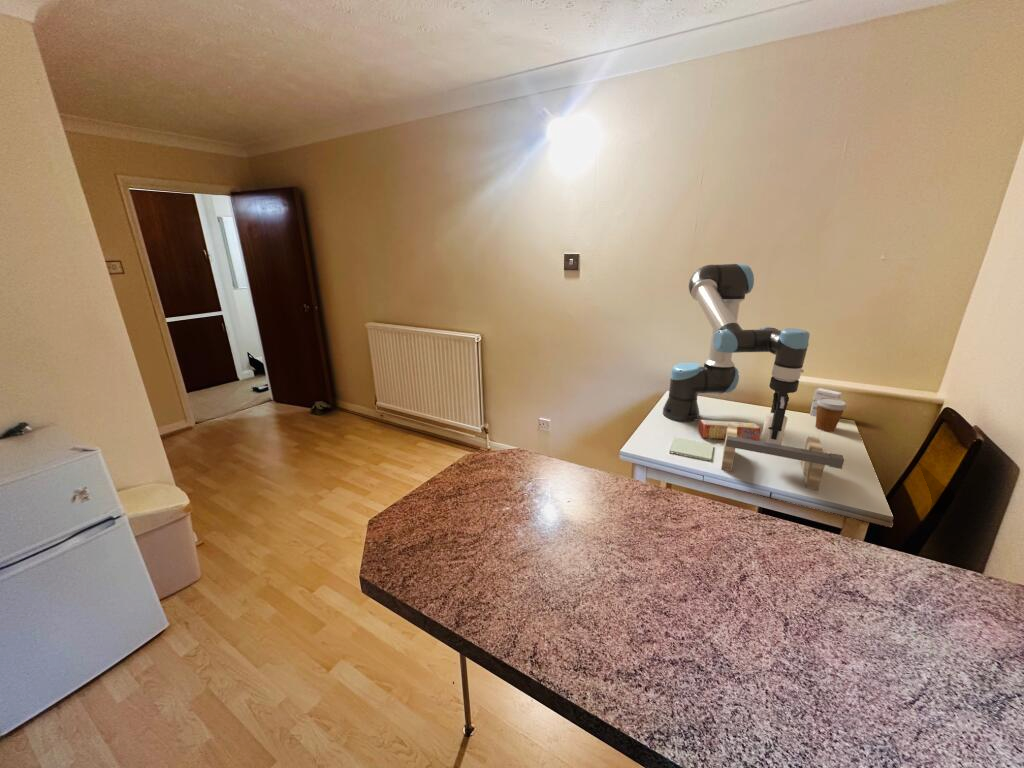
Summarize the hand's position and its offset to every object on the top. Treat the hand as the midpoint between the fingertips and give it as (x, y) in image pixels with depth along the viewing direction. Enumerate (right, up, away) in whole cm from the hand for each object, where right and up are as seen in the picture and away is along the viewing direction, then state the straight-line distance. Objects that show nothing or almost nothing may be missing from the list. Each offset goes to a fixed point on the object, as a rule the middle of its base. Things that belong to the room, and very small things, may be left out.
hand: (770, 442), depth 135 cm
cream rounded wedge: (0, 0, 0) cm, 0 cm away
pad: (-20, -5, +15) cm, 26 cm away
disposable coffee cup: (+41, +1, +29) cm, 50 cm away
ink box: (+48, +5, +40) cm, 63 cm away
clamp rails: (0, -9, +3) cm, 9 cm away
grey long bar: (-5, -2, -11) cm, 13 cm away
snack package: (-2, -2, +24) cm, 24 cm away
